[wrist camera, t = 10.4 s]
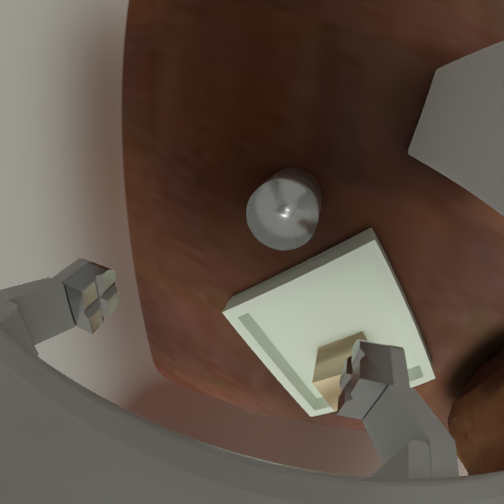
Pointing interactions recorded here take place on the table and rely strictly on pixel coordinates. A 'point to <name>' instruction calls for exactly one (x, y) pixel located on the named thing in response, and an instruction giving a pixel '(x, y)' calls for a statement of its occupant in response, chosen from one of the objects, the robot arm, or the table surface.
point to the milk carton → (466, 124)
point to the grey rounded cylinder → (285, 209)
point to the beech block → (333, 367)
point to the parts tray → (328, 315)
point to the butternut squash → (481, 419)
